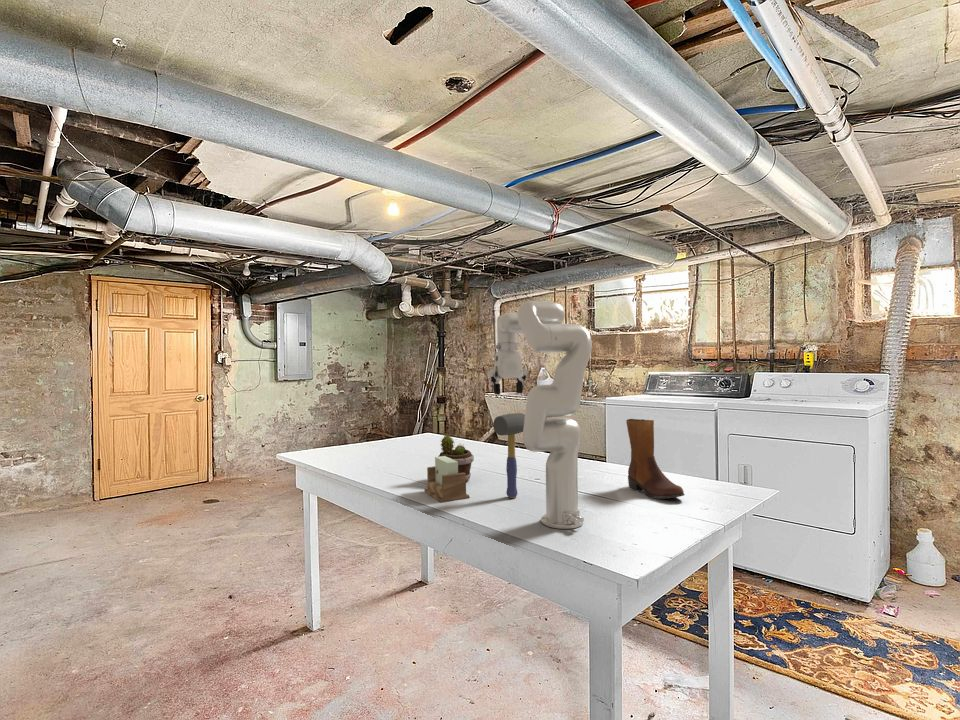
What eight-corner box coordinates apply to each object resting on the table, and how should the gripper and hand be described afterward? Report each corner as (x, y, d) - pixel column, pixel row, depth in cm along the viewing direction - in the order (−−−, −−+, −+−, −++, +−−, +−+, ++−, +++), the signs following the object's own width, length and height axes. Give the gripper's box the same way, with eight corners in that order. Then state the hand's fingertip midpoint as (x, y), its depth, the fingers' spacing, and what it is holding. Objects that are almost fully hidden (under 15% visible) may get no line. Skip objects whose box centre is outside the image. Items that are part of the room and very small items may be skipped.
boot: (689, 502, 171) (688, 423, 171) (666, 505, 169) (666, 424, 168) (644, 484, 195) (643, 415, 195) (623, 486, 193) (623, 416, 192)
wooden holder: (469, 498, 180) (469, 472, 180) (440, 502, 175) (440, 476, 175) (451, 487, 194) (451, 464, 194) (424, 491, 189) (424, 467, 189)
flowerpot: (475, 476, 211) (475, 429, 210) (472, 486, 195) (471, 435, 195) (441, 476, 212) (440, 429, 212) (434, 486, 197) (434, 435, 196)
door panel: (458, 495, 180) (457, 461, 180) (446, 497, 178) (446, 463, 178) (445, 487, 191) (444, 455, 190) (434, 489, 189) (433, 457, 188)
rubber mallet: (508, 503, 172) (506, 416, 172) (492, 499, 178) (491, 414, 177) (531, 496, 181) (530, 412, 181) (515, 492, 187) (514, 411, 186)
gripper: (492, 347, 181) (493, 395, 181) (532, 347, 189) (533, 393, 189) (482, 348, 188) (483, 394, 188) (521, 348, 196) (522, 392, 196)
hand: (508, 393), depth 189 cm, fingers open, 9 cm apart
